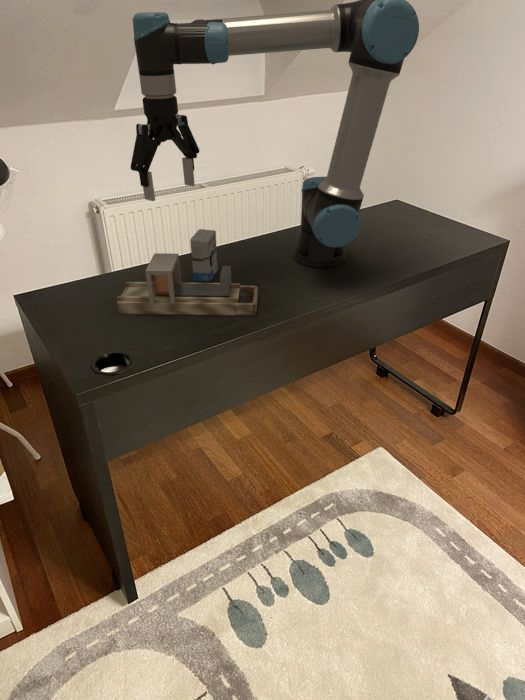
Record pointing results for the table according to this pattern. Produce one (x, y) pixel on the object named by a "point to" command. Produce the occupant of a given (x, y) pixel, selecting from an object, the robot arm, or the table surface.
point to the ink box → (204, 255)
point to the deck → (188, 302)
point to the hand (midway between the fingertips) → (170, 192)
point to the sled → (195, 286)
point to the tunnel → (163, 272)
